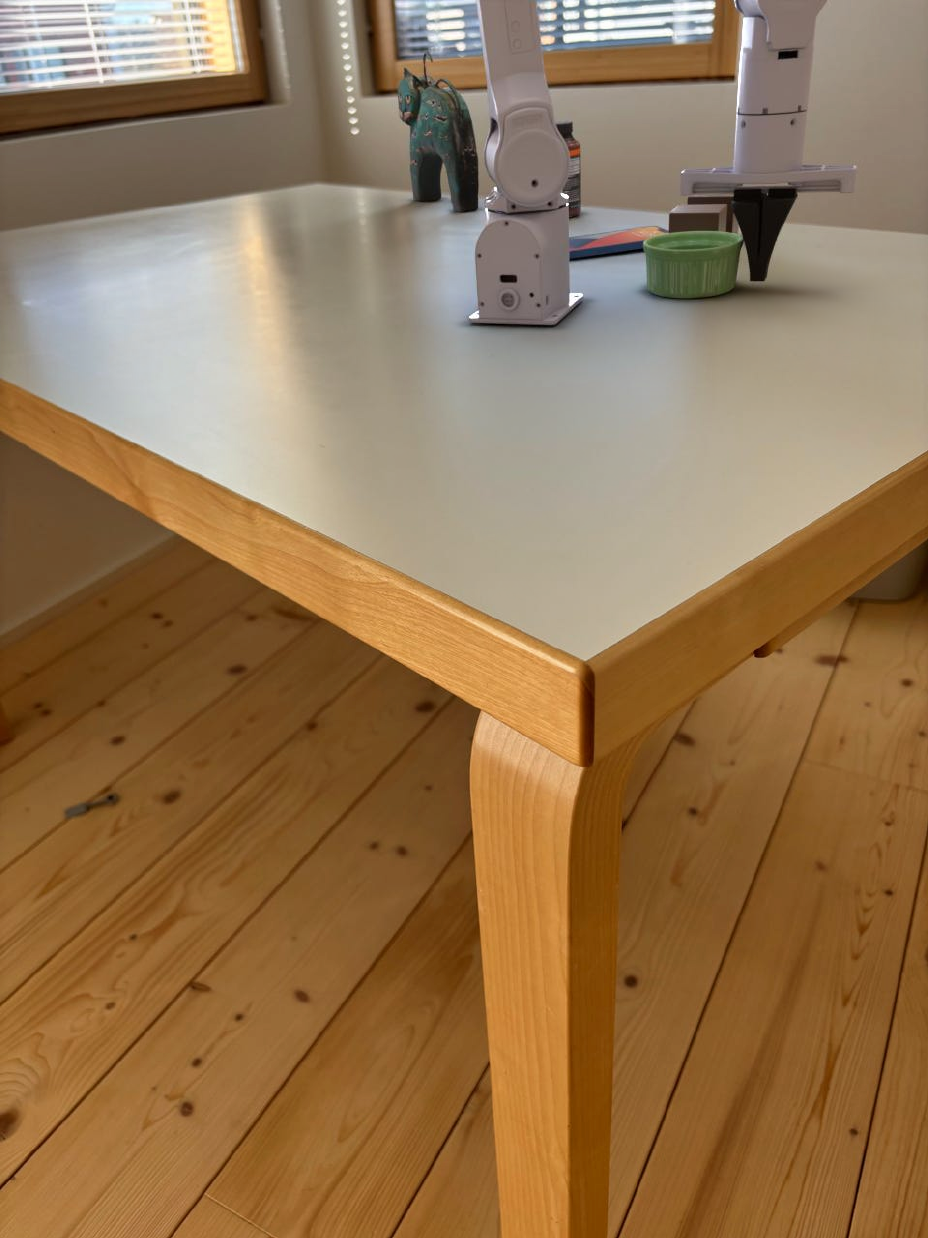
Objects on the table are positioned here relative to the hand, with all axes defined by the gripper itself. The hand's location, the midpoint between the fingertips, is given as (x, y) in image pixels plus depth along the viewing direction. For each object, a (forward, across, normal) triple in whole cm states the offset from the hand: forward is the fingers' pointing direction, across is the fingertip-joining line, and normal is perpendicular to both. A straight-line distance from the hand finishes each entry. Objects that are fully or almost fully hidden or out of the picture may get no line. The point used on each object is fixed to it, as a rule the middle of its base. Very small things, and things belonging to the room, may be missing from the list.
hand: (758, 279), depth 90 cm
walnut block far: (+1, +8, -23) cm, 24 cm away
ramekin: (+1, +6, 0) cm, 6 cm away
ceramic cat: (+1, +52, -51) cm, 73 cm away
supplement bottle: (+1, +31, -40) cm, 51 cm away
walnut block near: (+1, +8, -13) cm, 15 cm away
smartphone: (+1, +19, -18) cm, 26 cm away
